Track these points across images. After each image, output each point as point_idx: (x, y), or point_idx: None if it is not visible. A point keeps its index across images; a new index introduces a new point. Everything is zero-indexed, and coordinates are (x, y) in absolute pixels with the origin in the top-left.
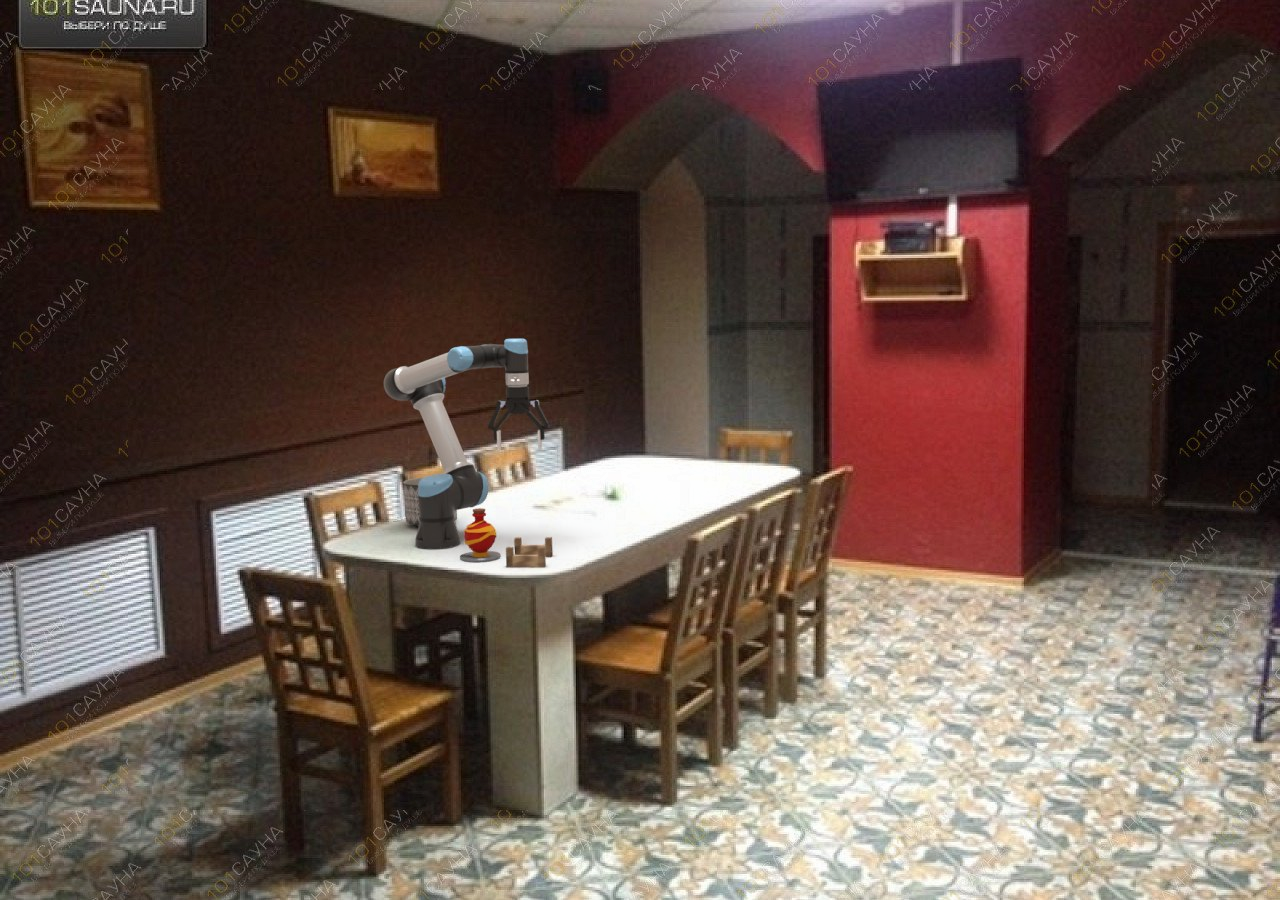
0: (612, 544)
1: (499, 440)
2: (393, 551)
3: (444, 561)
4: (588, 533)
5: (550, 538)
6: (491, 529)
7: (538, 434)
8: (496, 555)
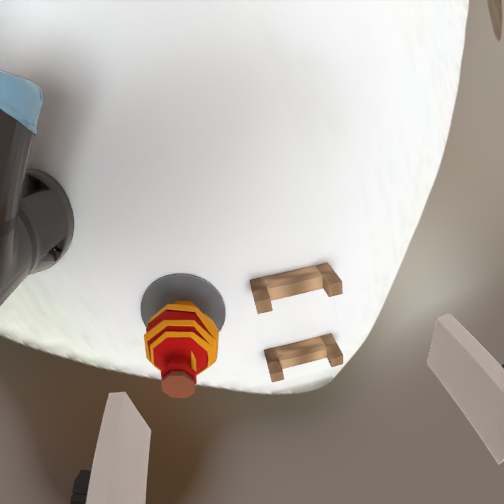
0: (421, 143)
1: (142, 490)
2: None
3: (132, 345)
4: (345, 28)
5: (340, 293)
6: (214, 355)
7: (488, 439)
8: (217, 309)
